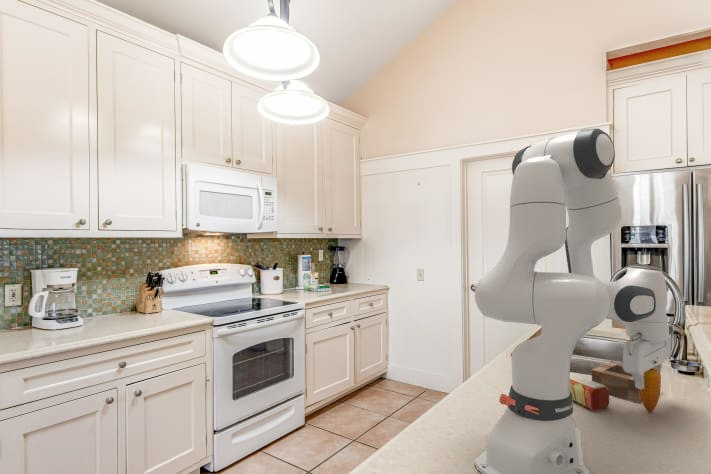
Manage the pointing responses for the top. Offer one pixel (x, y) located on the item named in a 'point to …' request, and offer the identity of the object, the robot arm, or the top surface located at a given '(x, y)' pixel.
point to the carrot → (651, 389)
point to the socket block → (617, 381)
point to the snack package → (589, 393)
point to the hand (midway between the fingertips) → (648, 383)
